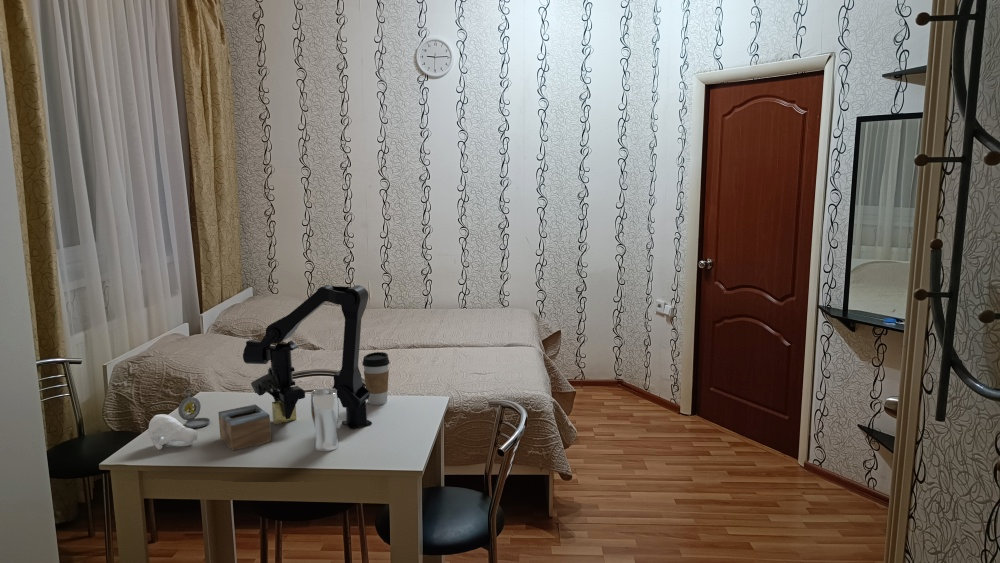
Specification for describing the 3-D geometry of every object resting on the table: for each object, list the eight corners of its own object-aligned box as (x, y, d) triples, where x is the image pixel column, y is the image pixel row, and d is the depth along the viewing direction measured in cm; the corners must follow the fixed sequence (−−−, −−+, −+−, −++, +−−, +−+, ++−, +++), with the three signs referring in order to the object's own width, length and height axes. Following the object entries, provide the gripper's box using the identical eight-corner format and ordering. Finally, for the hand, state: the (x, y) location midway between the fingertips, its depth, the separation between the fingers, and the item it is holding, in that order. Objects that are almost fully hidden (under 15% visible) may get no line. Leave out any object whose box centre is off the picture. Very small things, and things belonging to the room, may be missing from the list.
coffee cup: (396, 399, 229) (394, 352, 227) (383, 407, 222) (381, 359, 219) (372, 396, 232) (370, 351, 230) (358, 404, 224) (356, 357, 222)
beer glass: (327, 454, 186) (323, 397, 183) (307, 449, 189) (304, 393, 187) (346, 445, 192) (343, 390, 189) (327, 440, 195) (324, 386, 193)
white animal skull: (156, 410, 195) (201, 413, 195) (155, 440, 196) (200, 443, 197) (145, 418, 189) (192, 421, 189) (145, 449, 190) (191, 452, 190)
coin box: (271, 441, 195) (269, 414, 194) (233, 450, 189) (231, 422, 188) (257, 430, 204) (255, 404, 203) (220, 438, 198) (218, 411, 197)
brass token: (296, 419, 212) (295, 399, 211) (276, 424, 208) (275, 404, 207) (293, 417, 214) (292, 397, 213) (273, 422, 210) (271, 402, 209)
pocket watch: (204, 428, 205) (201, 394, 204) (175, 429, 206) (172, 395, 204) (216, 419, 214) (213, 386, 212) (187, 419, 214) (185, 386, 212)
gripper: (242, 362, 211) (246, 414, 213) (265, 376, 196) (268, 431, 199) (279, 356, 218) (283, 406, 220) (304, 369, 203) (307, 422, 205)
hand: (284, 416), depth 211 cm, fingers open, 5 cm apart
